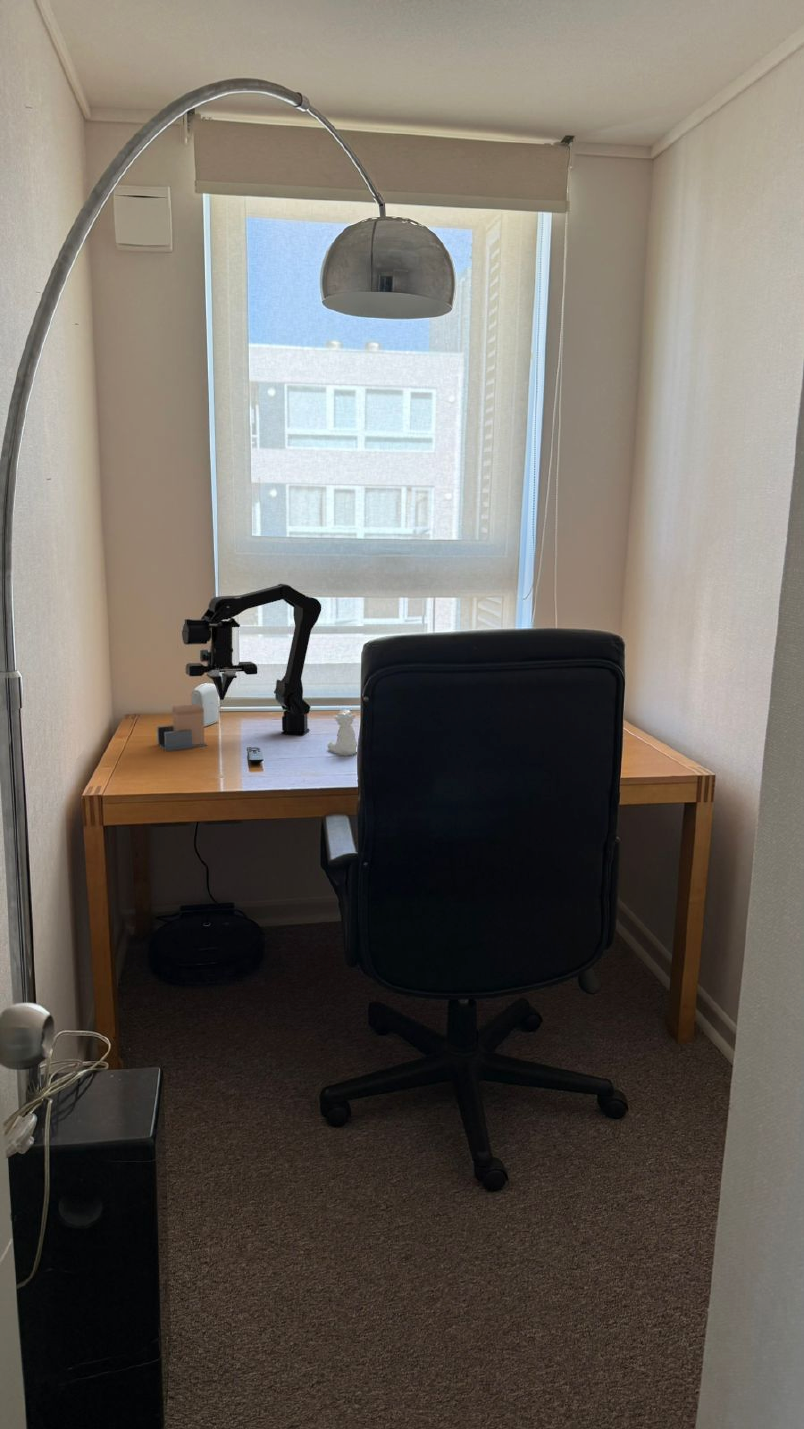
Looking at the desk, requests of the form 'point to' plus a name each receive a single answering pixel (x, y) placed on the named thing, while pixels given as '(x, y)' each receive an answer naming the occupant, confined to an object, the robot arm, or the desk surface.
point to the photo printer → (207, 702)
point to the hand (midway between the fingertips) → (221, 699)
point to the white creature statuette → (344, 735)
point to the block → (190, 721)
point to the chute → (175, 738)
